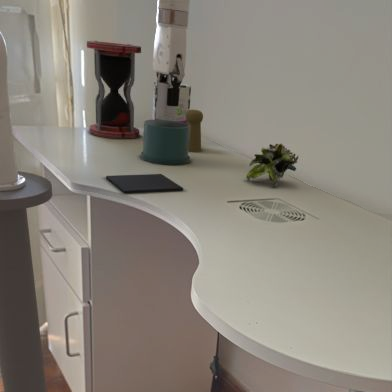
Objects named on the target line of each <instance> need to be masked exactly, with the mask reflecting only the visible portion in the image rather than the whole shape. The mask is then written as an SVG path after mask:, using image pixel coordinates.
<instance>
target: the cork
mask: <svg viewBox="0 0 392 392" xmlns="http://www.w3.org/2000/svg"><path fill="white" fill-rule="evenodd" d="M203 119H204V113H203V112H202V111H201V110H198V109H190V110H188V111H187V112H186V120H187V124H188V125H190V136H189V148H188V152H191V153H199V152H200V153H201V152H202V127H201V124H202V122H203Z"/></svg>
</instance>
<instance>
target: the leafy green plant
mask: <svg viewBox="0 0 392 392" xmlns="http://www.w3.org/2000/svg"><path fill="white" fill-rule="evenodd" d="M260 151H261V153H262V154H261V153H260V154H258V153H254V158H252V159H251V161H250V162H249V167H251V166H252V165H254V166H253V167H252V168H251V169H250V170H249V171H248V172H247V174H246V176H245V179H246V180H247V182H249V181H250V179H257V178H259V177H261V176H263V175H265V174H268V178H269V180H271V181H273V182H275V183H274V186H273V188H276V186H277V185H278V183H279V181H280V179H282V178H283V177H284V175H285V173H286V171H288V170H290V171H292V172H295V171H297V168H296V166H294V165H295V164H297V163H298V160H299V155H297V156H296V153H293V151H291V150H290V149H288V148H287V147H286V146H285V145H283V144H282V143H275V145H274V144H271V143H270V144H269V145H268V147H266V148H265V147H264V146H263V147H261V149H260Z"/></svg>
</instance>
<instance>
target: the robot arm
mask: <svg viewBox="0 0 392 392" xmlns="http://www.w3.org/2000/svg"><path fill="white" fill-rule="evenodd" d="M190 1H191V0H157V8H156V9H157V10H156V11H157V12H156V31H155V37H154V44H153V55H152V70H153V71H154V72H155V73H156V78H157V79H156V83H157V94H158V82H169V88H167V106H178V105H179V92H180V88H181V84H182V82H183V80H184V78H185V75H186V74H185V70H186V62H187V30H188V28H189V17H190V16H189V14H190ZM8 88H9V87H8V49H7V44H6V40H5V38H4V35H3V33H2V32H1V30H0V191H11V190H16V189H19V188H22V187H24V186H25V185H26V181H25V178H24V177H23V176H21V175H18V174H17V171H18V167H17V158H16V149H15V141H14V131H13V122H12V114H11V107H10V98H9V97H10V96H9V89H8Z"/></svg>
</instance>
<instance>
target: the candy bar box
mask: <svg viewBox="0 0 392 392" xmlns="http://www.w3.org/2000/svg"><path fill="white" fill-rule="evenodd" d="M191 90H192V86H191V85H189V84H186V83H185V84H183V83H181V88H180V92H179V105H178V106H177V117H163V116H158V115H157V114H156V113H157V81H156V82H153V83H152V116H151V117H152V119H151V120H171V121H177V122H182V123H186V124H187V120H186V112H187V111H188V110H191V109H190V108H191V94H192V91H191Z"/></svg>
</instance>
